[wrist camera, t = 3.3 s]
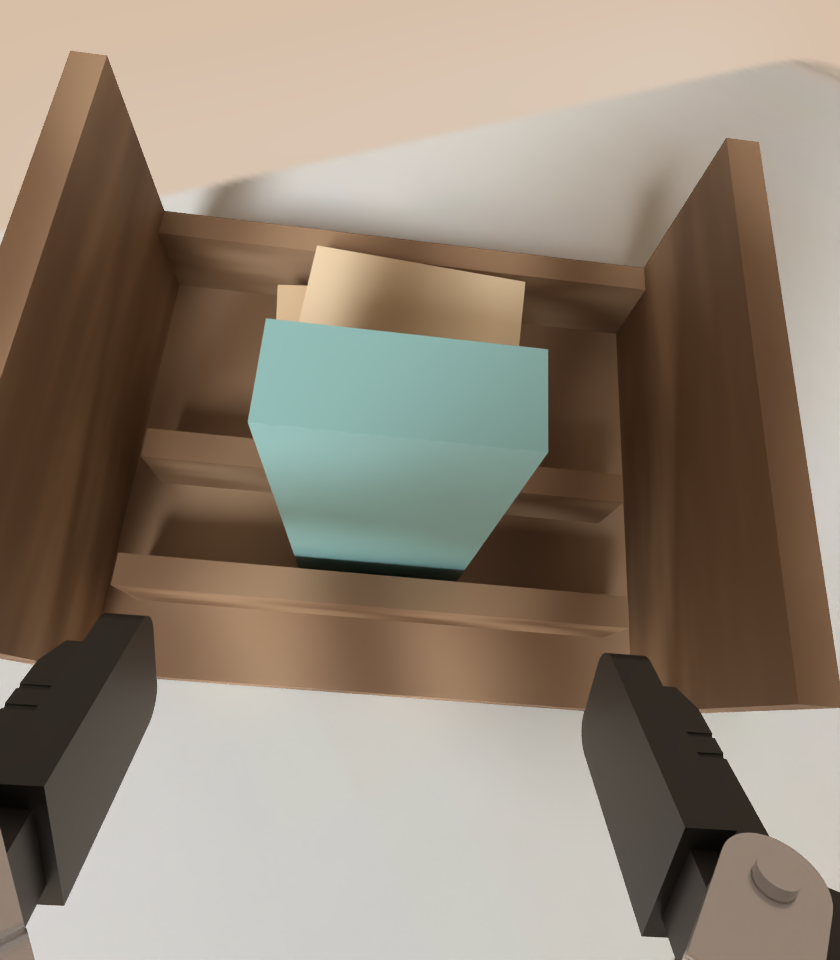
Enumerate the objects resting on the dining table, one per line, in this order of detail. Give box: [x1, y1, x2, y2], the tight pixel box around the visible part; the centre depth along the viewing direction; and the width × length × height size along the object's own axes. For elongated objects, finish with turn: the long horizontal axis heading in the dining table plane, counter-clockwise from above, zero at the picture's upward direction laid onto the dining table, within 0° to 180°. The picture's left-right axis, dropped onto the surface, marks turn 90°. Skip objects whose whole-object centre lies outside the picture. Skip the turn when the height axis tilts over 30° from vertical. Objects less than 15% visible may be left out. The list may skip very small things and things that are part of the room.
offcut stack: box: [276, 245, 525, 346], centre depth 24 cm, size 9×5×4 cm, turn 86°
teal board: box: [248, 318, 548, 582], centre depth 18 cm, size 6×2×12 cm, turn 86°
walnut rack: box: [0, 51, 840, 713], centre depth 21 cm, size 20×16×10 cm
